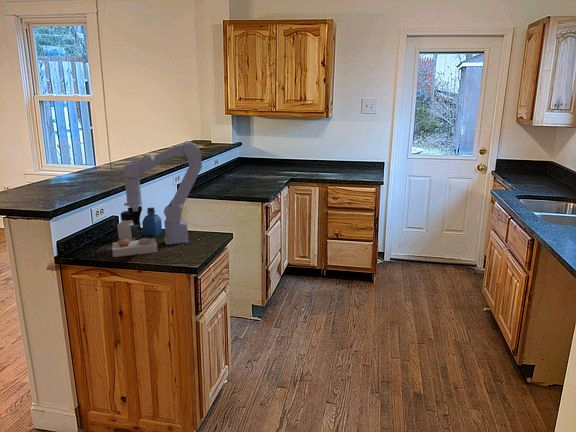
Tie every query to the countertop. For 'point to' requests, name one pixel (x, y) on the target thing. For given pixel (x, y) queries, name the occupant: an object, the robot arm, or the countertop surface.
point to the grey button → (144, 241)
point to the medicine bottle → (128, 227)
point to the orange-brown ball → (124, 242)
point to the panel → (134, 248)
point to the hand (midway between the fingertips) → (136, 224)
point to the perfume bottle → (152, 223)
